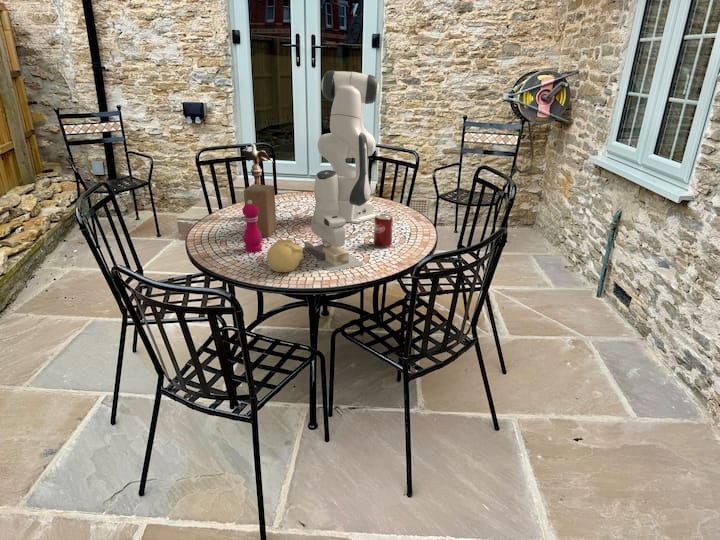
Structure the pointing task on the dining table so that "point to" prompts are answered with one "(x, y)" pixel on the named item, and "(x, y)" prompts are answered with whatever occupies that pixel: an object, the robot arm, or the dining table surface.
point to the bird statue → (256, 161)
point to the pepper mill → (251, 228)
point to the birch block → (336, 255)
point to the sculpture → (284, 256)
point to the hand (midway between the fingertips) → (327, 250)
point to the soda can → (383, 230)
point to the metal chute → (315, 250)
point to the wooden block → (263, 207)
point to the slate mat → (331, 267)
